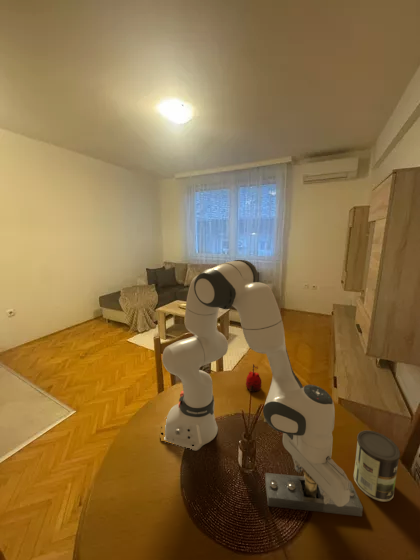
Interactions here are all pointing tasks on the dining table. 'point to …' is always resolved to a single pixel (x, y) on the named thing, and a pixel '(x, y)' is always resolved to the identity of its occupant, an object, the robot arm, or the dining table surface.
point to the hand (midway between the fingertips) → (310, 484)
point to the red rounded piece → (253, 381)
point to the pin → (309, 486)
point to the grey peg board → (290, 495)
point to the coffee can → (376, 465)
